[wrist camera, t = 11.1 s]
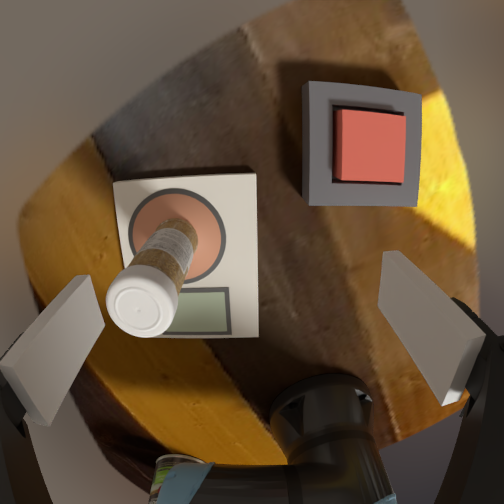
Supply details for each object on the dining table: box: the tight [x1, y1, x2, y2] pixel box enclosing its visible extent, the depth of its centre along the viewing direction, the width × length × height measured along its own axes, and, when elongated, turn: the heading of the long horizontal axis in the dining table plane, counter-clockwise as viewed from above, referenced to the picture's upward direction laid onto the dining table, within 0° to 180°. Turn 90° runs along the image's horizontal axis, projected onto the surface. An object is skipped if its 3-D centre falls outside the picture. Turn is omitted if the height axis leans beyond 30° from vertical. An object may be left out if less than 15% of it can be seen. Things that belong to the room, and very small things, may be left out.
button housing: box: [302, 81, 422, 207], centre depth 28 cm, size 11×11×4 cm
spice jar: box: [106, 218, 198, 338], centre depth 25 cm, size 5×5×14 cm
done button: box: [332, 110, 406, 183], centre depth 26 cm, size 6×6×3 cm
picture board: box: [113, 173, 259, 338], centre depth 33 cm, size 18×14×1 cm
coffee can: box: [149, 454, 205, 504], centre depth 41 cm, size 10×10×14 cm
